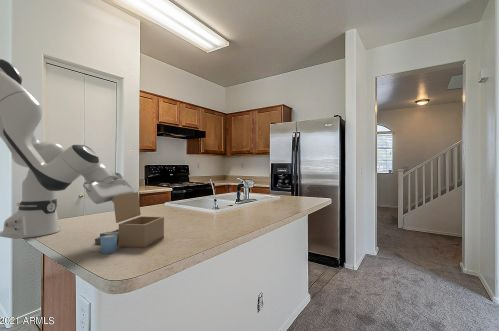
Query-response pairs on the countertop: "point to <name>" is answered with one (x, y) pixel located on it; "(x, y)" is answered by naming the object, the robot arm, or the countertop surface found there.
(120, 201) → the flap
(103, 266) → the countertop surface
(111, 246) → the light blue cube
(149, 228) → the carton
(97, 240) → the toy gun
